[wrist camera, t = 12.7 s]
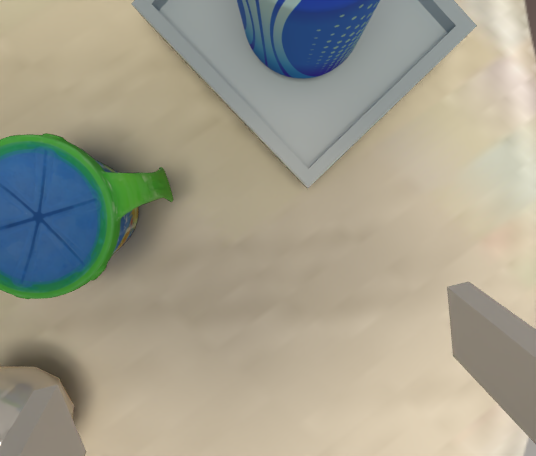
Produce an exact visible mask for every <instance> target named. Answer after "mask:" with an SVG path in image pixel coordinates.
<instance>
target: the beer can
mask: <svg viewBox="0 0 536 456" xmlns="http://www.w3.org/2000/svg"><path fill="white" fill-rule="evenodd" d="M379 1H380V0H237V3H238V7H239V11H240V15H241V18H242V22H243V26H244V30H245V34H246V37H247V40H248V42H249V45H250V47H251V48H252V50H253V52H254V53H255V55H256V56H257V57H258V58H259V59H260V61H261V62H262V63H264V64H265V65H266V66H267V67H268V68H270V69H271V70H273V71H275V72H277V73H279V74H281V75H284V76H287V77H291V78H300V79H305V78H313V77H317V76H321V75H323V74H326V73H328V72H330V71H332V70H333V69H335V68H336V67H338V66H339V65H340V64H342V63H343V62H344V61H345V60H346V59H347V58H348V56H349V55H350V54H351V52H352V51H353V50H354V48H355V46H356V44H357V43H358V41H359V39H360V37H361V35H362V33H363V31H364V29H365V28H366V26H367V24H368V22H369V20H370V18H371V16H372V15H373V13H374V11H375V9H376V7H377V5H378V3H379Z"/></svg>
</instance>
